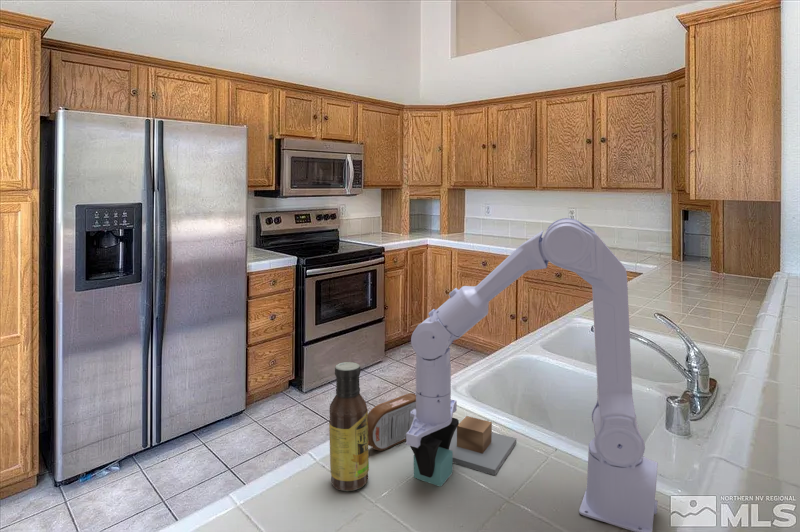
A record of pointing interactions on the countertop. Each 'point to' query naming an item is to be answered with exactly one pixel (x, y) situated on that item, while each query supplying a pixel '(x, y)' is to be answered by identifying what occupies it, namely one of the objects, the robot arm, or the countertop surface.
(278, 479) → the countertop surface
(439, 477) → the teal brick
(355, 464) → the sauce bottle
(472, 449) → the walnut brick
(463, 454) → the baseplate
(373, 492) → the countertop surface
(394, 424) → the tin
